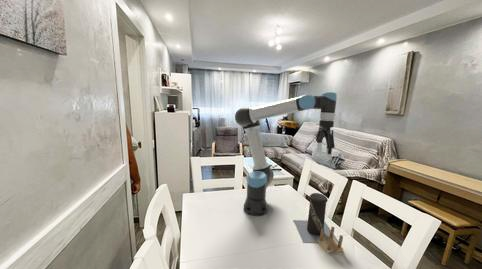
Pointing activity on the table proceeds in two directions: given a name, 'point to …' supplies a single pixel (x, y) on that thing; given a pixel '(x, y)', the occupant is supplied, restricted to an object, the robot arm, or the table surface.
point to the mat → (306, 235)
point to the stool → (330, 242)
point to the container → (316, 213)
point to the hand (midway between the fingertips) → (322, 156)
